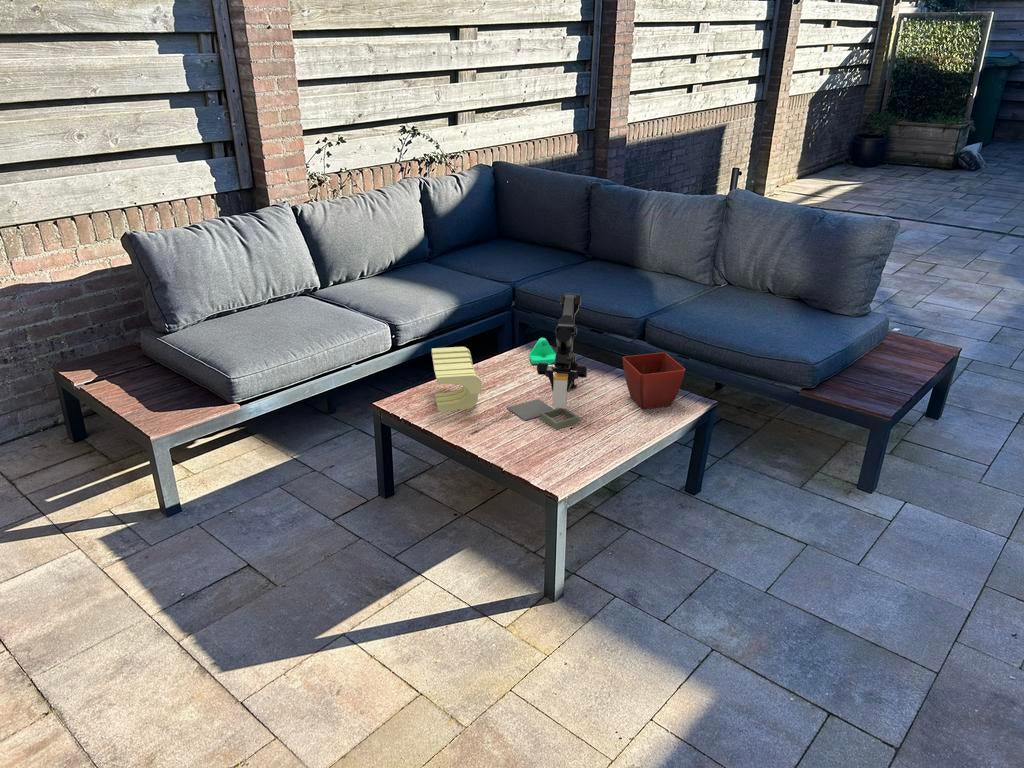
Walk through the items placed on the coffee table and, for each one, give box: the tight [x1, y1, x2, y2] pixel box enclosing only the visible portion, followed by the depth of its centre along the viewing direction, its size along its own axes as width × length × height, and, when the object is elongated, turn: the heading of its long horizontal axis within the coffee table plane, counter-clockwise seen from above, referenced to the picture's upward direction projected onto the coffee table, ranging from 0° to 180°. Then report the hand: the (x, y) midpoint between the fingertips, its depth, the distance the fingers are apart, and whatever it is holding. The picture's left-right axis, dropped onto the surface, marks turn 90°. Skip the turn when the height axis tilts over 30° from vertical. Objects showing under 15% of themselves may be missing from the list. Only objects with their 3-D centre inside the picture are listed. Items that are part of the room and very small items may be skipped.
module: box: [552, 372, 568, 409], centre depth 303 cm, size 4×5×12 cm
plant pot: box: [622, 352, 686, 410], centre depth 322 cm, size 19×19×17 cm
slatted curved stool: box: [431, 346, 482, 412], centre depth 319 cm, size 30×16×18 cm, turn 10°
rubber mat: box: [506, 398, 554, 422], centre depth 316 cm, size 15×13×1 cm
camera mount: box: [528, 337, 556, 366], centre depth 361 cm, size 12×8×10 cm, turn 101°
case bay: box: [539, 407, 580, 430], centre depth 308 cm, size 11×11×2 cm
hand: (560, 391), depth 302 cm, fingers closed on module, 5 cm apart
